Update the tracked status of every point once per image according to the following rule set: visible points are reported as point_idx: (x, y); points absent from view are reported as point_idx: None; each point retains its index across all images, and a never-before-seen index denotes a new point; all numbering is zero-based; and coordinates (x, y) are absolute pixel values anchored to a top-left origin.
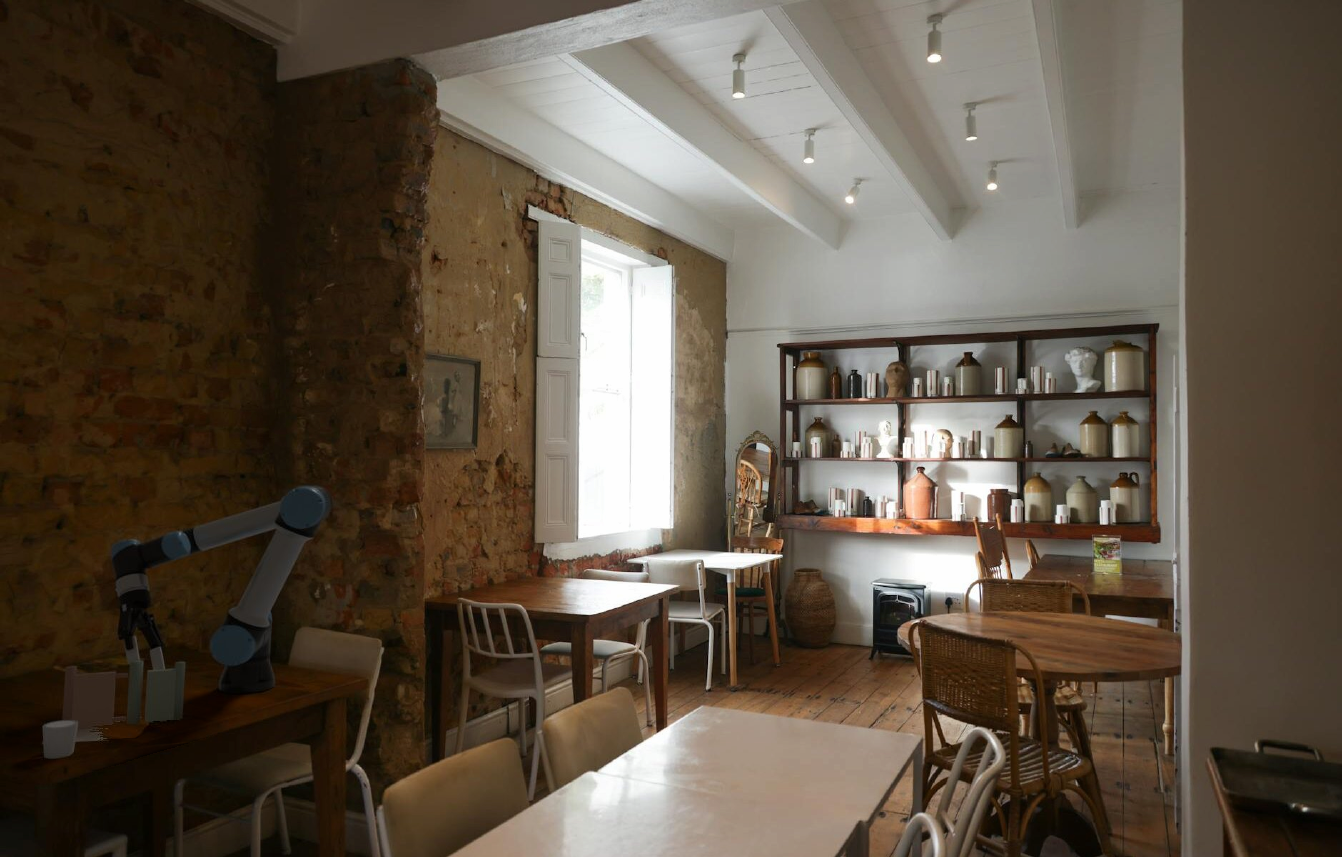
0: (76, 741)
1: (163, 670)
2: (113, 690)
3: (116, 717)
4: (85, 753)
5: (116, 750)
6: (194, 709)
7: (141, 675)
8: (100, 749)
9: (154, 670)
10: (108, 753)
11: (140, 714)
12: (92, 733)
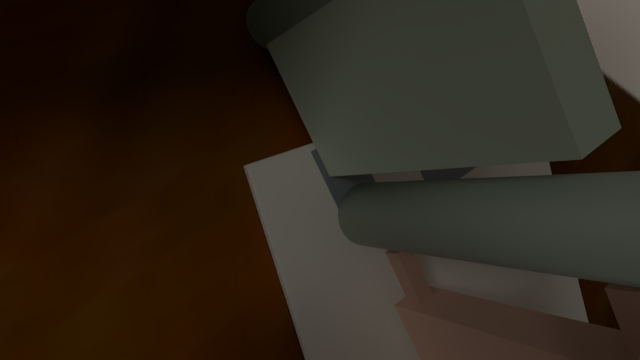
0: (577, 279)
1: (566, 2)
2: (575, 324)
3: (422, 285)
4: (635, 170)
5: (607, 86)
6: (7, 12)
7: (607, 172)
8: (606, 146)
9: (580, 89)
10: (628, 96)
11: (380, 184)
12: (503, 293)
